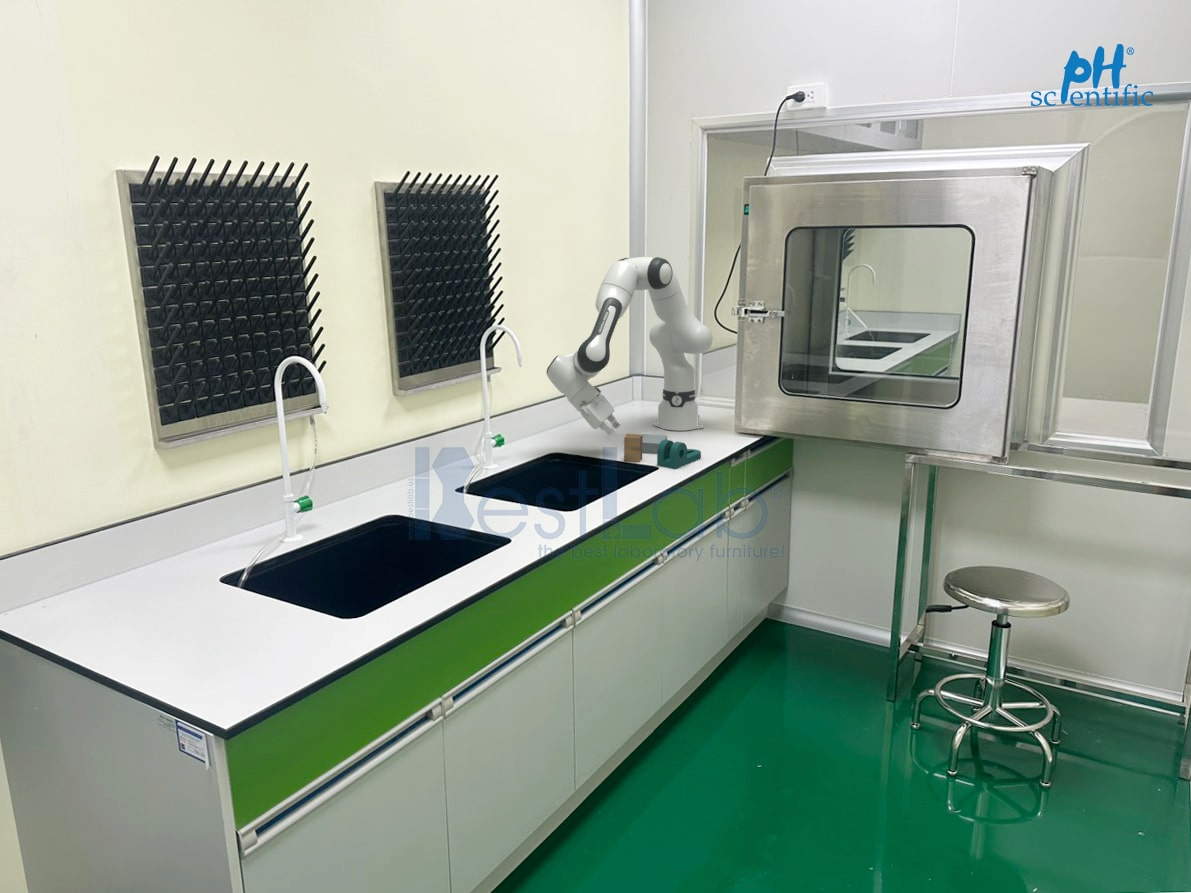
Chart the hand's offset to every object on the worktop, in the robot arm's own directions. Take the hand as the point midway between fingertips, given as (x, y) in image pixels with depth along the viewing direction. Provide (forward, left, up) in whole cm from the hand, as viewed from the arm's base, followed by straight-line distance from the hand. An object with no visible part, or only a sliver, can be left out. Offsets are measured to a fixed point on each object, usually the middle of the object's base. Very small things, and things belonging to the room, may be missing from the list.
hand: (615, 430), depth 276 cm
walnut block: (0, +6, -9) cm, 11 cm away
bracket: (-2, +21, -10) cm, 23 cm away
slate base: (-15, +8, -10) cm, 20 cm away
